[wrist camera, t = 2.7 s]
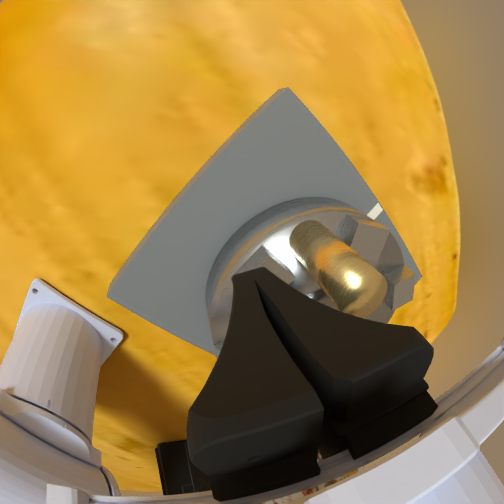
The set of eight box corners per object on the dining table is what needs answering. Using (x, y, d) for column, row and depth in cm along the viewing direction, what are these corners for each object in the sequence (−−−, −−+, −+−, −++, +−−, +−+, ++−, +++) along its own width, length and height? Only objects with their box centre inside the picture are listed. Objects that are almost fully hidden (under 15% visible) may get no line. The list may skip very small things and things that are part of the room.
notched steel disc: (377, 316, 23) (431, 378, 16) (239, 376, 22) (266, 460, 15) (374, 172, 16) (475, 218, 9) (172, 241, 15) (174, 349, 8)
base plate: (295, 379, 26) (300, 390, 25) (110, 283, 17) (106, 297, 16) (412, 268, 24) (422, 276, 22) (278, 89, 14) (288, 87, 13)
